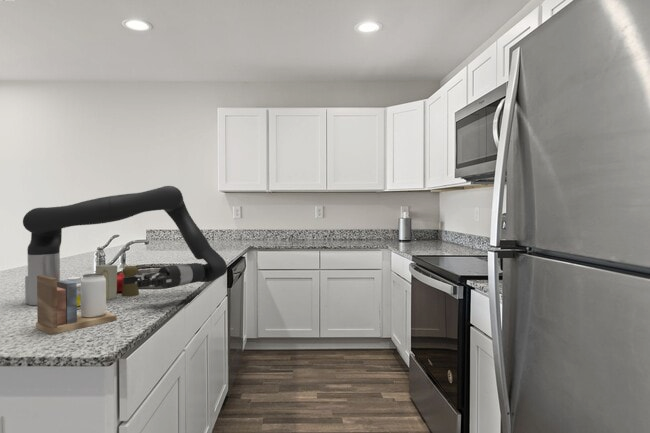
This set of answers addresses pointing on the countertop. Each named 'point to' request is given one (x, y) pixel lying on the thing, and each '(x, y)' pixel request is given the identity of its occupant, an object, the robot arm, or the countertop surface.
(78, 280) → the supplement bottle
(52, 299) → the wooden bookend
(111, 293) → the skincare box
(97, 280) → the can
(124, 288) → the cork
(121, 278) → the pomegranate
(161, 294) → the countertop surface
